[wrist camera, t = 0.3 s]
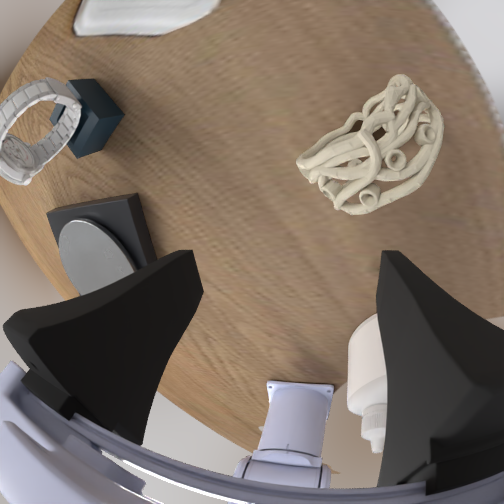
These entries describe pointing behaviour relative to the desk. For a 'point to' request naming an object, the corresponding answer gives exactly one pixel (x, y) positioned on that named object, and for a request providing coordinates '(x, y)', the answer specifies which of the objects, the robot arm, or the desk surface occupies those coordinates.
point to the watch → (56, 124)
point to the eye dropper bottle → (368, 382)
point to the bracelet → (377, 149)
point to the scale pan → (92, 256)
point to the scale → (112, 223)
